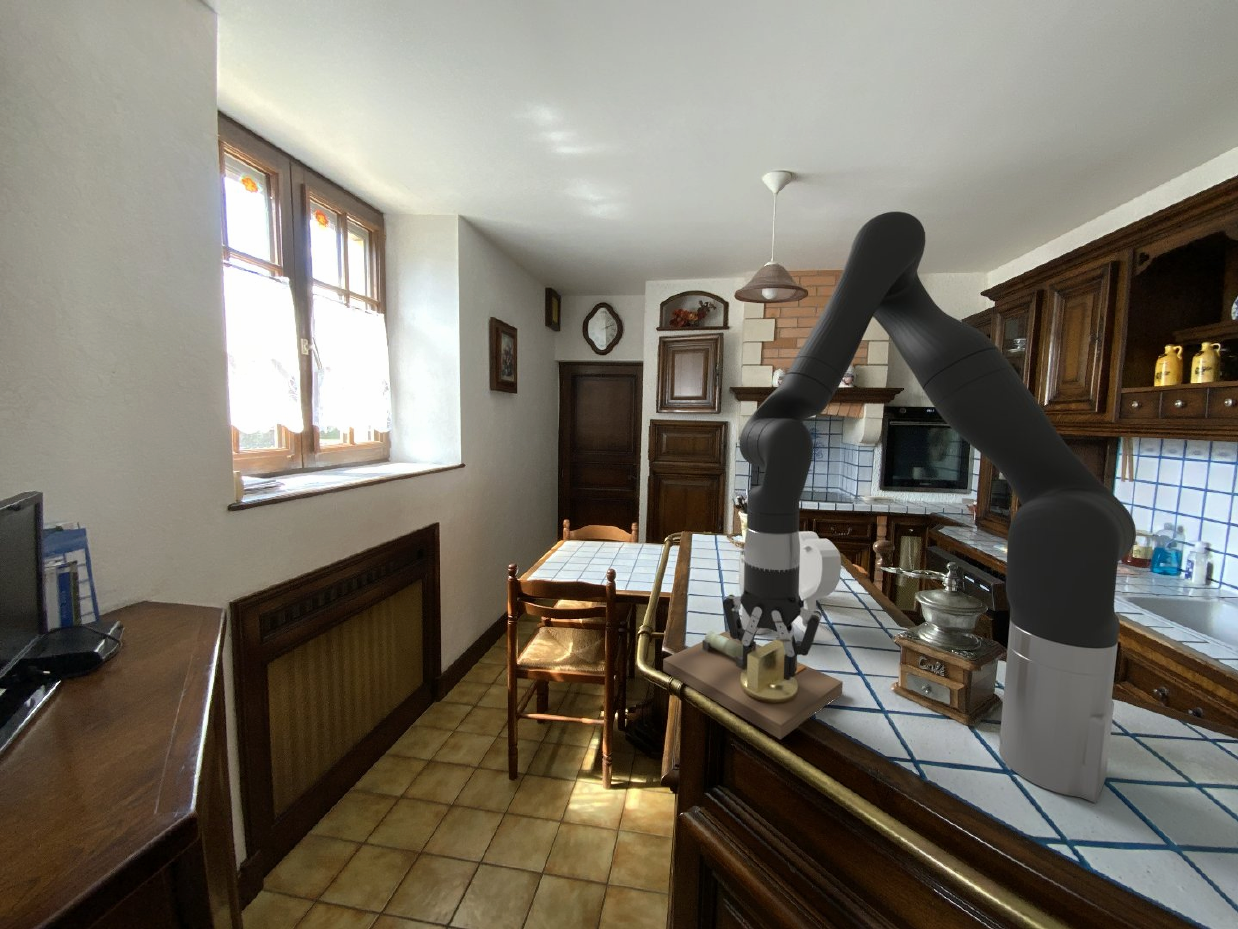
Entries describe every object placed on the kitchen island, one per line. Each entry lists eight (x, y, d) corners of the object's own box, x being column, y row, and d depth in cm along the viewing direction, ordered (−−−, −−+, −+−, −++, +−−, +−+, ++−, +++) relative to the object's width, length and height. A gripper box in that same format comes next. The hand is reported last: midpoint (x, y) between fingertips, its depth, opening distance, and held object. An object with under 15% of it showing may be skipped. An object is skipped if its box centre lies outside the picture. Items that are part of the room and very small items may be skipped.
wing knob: (761, 666, 78) (762, 630, 77) (808, 687, 72) (810, 648, 71) (729, 684, 73) (729, 646, 72) (777, 710, 67) (778, 668, 66)
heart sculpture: (780, 609, 105) (783, 526, 103) (803, 608, 105) (806, 526, 103) (815, 644, 90) (818, 547, 88) (842, 642, 90) (846, 546, 88)
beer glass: (770, 620, 100) (772, 548, 98) (778, 636, 93) (780, 559, 91) (735, 619, 100) (736, 547, 99) (740, 635, 94) (741, 558, 92)
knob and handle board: (842, 694, 74) (843, 664, 73) (780, 739, 64) (781, 705, 64) (726, 641, 91) (726, 616, 91) (663, 670, 81) (663, 643, 81)
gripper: (830, 559, 69) (825, 674, 71) (731, 545, 77) (729, 649, 79) (820, 575, 63) (816, 700, 65) (714, 558, 71) (713, 671, 73)
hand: (768, 672), depth 72 cm, fingers open, 4 cm apart
